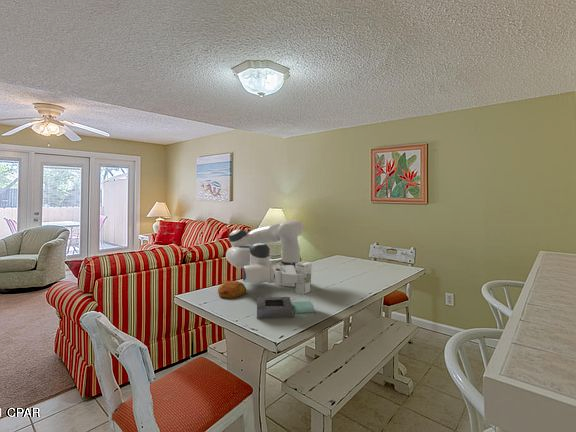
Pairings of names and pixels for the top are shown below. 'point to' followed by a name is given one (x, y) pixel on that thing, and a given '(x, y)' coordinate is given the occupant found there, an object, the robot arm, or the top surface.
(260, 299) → the iron collar
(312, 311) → the rubber mat
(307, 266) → the syrup box
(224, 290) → the croissant
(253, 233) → the robot arm
